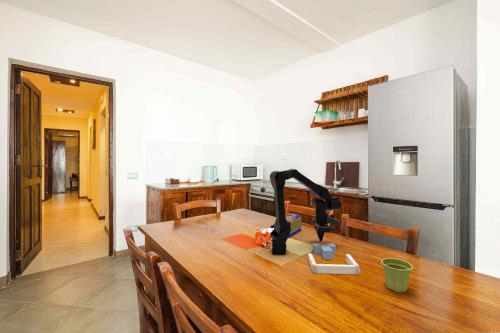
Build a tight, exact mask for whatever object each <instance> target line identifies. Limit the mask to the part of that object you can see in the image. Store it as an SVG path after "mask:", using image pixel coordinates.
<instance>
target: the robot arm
mask: <svg viewBox="0 0 500 333" xmlns="http://www.w3.org/2000/svg"><path fill="white" fill-rule="evenodd" d="M291 179H293V180H295V181H297V182H298V183H300V184H301V185H303V186H304V187H306V188H307V189H308V190H309V191H310V193H311V194H312V195H313V196H314V197H313V199H312V200H311V201H310V202H311V203H313V204H314V211H313V213H314V217H312V218H311V224H313V225H314V224H315V225H314V226H313V228H314V230H315V233H316V235H317V238H318V240H319V242H320V243H321V242H322V243H323V240H324V236H325V233H327V234H328V233H329V234H331V233H332V227H330V225H331V226H334V227H337V226H338V224H339V219H337V218H336V217H335V215H334V214H332V213H331V214H328V212H327V210H328V211H338V210H340V209H341V208H342V203H341V201H340V198H339V196H331V194H330V192H329V189H328V188H327V187H326V186H323V185H320V184H318V183H316V182H314V181H313V180H311V179H310V178H308V177H307V176H305V175H304V174H303V173H302V172H300V171H298V169H296V168H290V169H287V170H281V171H278V170H273V171H271V173H270V174H269V182H270V185H271V186H272V188H273V194H274V205H275V206H274V207H275V222H274V224H275V225H274V224H273V225H274V230H273V229H272V231H271V232H270V233H269V236H270V238H271V255H276V256H277V255H278V256H280V255H281V256H285V255H286V253H287V242H288V238H289V237H288V236H289V235H290V231H292V230H291V223H290V222H289V221H287V220H286V215H287V214H286V206H285V194H284V193H285V192H284V189H285V186H286V181H288V180H291ZM329 224H330V225H329Z"/></svg>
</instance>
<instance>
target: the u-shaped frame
mask: <svg viewBox="0 0 500 333" xmlns="http://www.w3.org/2000/svg"><path fill="white" fill-rule="evenodd" d="M307 258H308V259H307V261H308V263H309V266H310V268H311V271H312V273H313V274H330V275H333V274H335V275H336V274H337V275H361V266H360V265H359V264H358V263H357V262H356V260H355V259H354V258H353V257H352V255H351V254H345V261H346V263H347V264H332V263H331V264H327V263H326V264H325V263H320V264H319V263H316V260H315V258H314V255H313V253H308V254H307Z"/></svg>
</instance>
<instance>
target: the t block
mask: <svg viewBox="0 0 500 333" xmlns="http://www.w3.org/2000/svg"><path fill="white" fill-rule="evenodd" d="M312 252H313V255H320V256H321V258H322V259H323V260H327V261H329V260H331V261H332V260H333V259H334V257H333V256H335V255H337V246H336V244H335V243H329V242H327V243H323V242H322V243H321V242H320V243H318V242H317V243H316V242H313V243H312Z"/></svg>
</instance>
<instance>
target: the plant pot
mask: <svg viewBox="0 0 500 333" xmlns="http://www.w3.org/2000/svg"><path fill="white" fill-rule="evenodd" d="M381 265H382V267H383V272H384V277H385V284H386V288H388V289H389V290H392V291H394V292H396V293H404V292H405V293H406V292H407V291H408V285H409V279H410V274H411V272H412V270H413V269H414V266H413V265H412V264H411V263H410V262H408V261H406V260H403V259H400V258H394V257H393V258H392V257H388V258H383V259H381Z"/></svg>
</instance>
